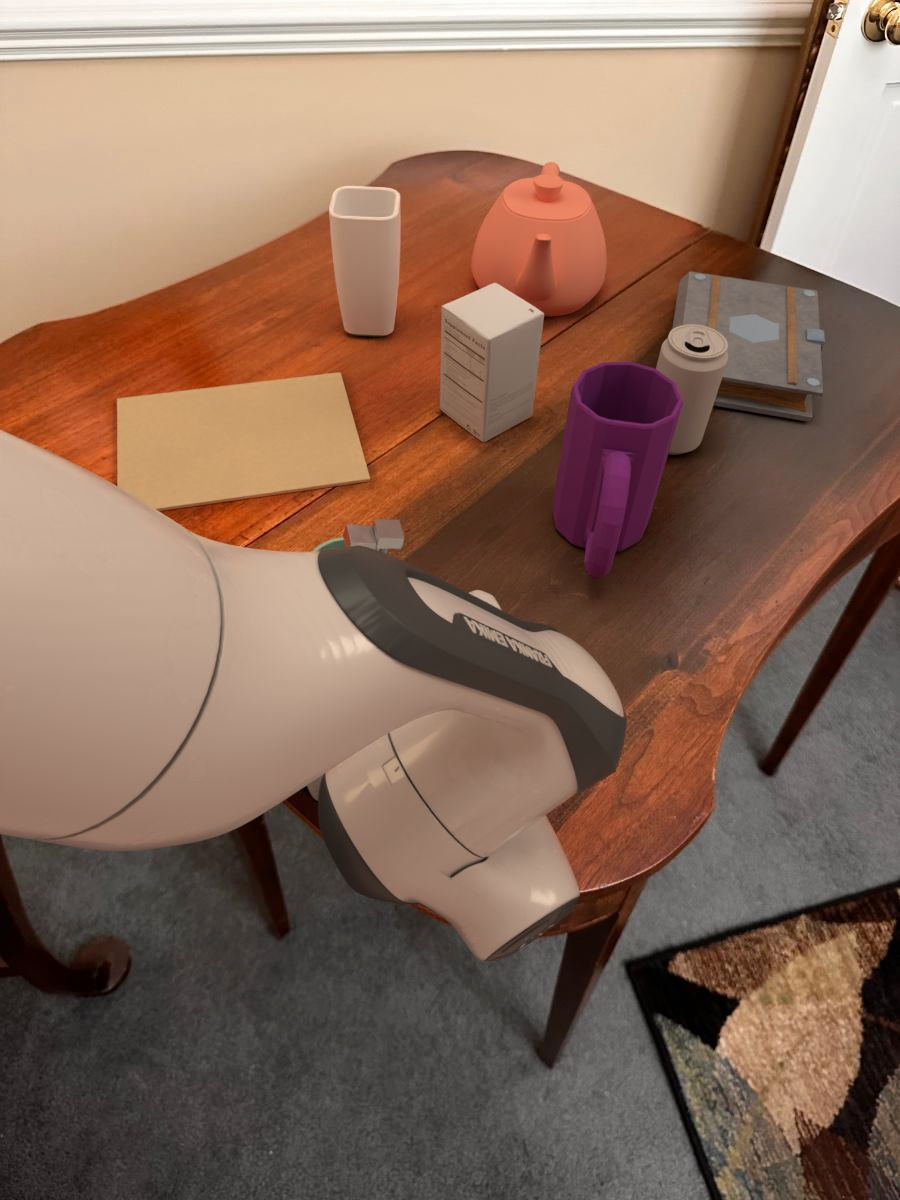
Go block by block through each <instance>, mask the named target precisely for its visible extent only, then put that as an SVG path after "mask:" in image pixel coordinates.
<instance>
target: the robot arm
mask: <svg viewBox="0 0 900 1200" xmlns="http://www.w3.org/2000/svg"><path fill="white" fill-rule="evenodd" d="M627 723H628V717H627V714H626V711H625V710H624V708H623V704H622V701H621V698H620V695H619V693H618V692H617V689H616V688H615V686H614V684H613V682H612V680H611V679H610V677H609V676H608V675H607V673H606V671H605V670H604V668H602V667H601V665H600V664H599V663H598V662H597V660H596V659H595V658H594V657H593V656H592V655H591V654H590V652H588V651H587V650H586V649H585V648H584V647H583V646H582V645H580V644H579V643H578V642H576V641H575V640H573V639H572V638H570V637H569V636H567V635H565V634H563V633H562V632H560V631H559V630H558V629H556V628H555V627H553V626H551V625H548V624H545V623H544V624H543V623H539V622H534V621H526V620H522V619H520V618H517V617H515V616H513V615H512V614H510V613H508V612H506V611H504V610H503V608H502V607H501V605H500V604H499V602H498V600H497V599H496V598H495V596H494V595H493V594H491V593H489V592H486V591H483V590H480V589H475V590H472V591H468V592H467V591H465V590H464V589H462V588H460V587H458V586H456V585H454V584H452V583H450V582H448V581H446V580H444V579H442V578H440V577H438V576H437V575H434V574H432V573H430V572H429V571H426V570H424V569H422V568H419V567H418V566H416V565H413V564H411V563H409V562H407V561H404V560H402V559H400V558H397V557H395V556H393V555H391V554H388V553H387V554H385V553H382V552H380V551H377V550H374V549H371V548H368V547H364V546H348V547H339V548H330V549H324V550H322V551H313V550H311V551H288V550H287V551H286V550H269V549H259V548H250V547H245V546H239V545H234V544H229V543H224V542H221V541H217V540H213V539H210V538H207V537H204V536H202V535H199V534H197V533H194V532H193V531H191V530H189V529H188V528H186V527H184V526H183V525H181V524H180V523H178V522H176V521H175V520H173V518H170V517H169V516H167V515H166V514H164V513H162V511H158V510H156V509H154V508H153V507H151V506H150V505H148V504H146V503H145V502H143V501H142V500H140V499H138V498H137V497H135V496H134V495H132V494H130V493H128V492H126V491H125V490H123V489H121V488H119V487H117V485H115V484H114V483H112V482H111V481H108V480H107V479H105V478H103V477H102V476H99V475H98V474H96V473H95V472H93V471H90V470H88V469H86V468H85V467H82V466H80V465H78V464H76V463H74V462H72V461H70V460H68V459H67V458H64V457H62V456H60V455H58V454H56V453H54V452H52V451H50V450H48V449H45V448H43V447H41V446H40V445H39V446H38V445H36V444H34V443H32V442H29V441H27V440H26V439H23V438H20V437H18V436H16V435H13V434H11V433H9V432H7V431H4V430H2V429H0V835H4V836H9V837H12V838H13V837H14V838H19V839H24V840H31V841H37V842H43V843H48V844H55V845H60V846H64V847H69V848H78V849H83V850H92V851H103V852H132V851H133V852H134V851H144V850H153V849H154V850H155V849H162V848H168V847H175V846H183V845H189V844H194V843H199V842H203V841H206V840H209V839H213V838H217V837H219V836H222V835H225V834H227V833H230V832H232V831H234V830H236V829H238V828H241V827H243V826H244V825H247V824H248V823H249V822H251V821H253V820H255V819H256V818H258V817H260V816H261V815H264V814H265V813H266V812H268V811H270V810H271V809H273V808H274V807H276V806H277V805H279V804H281V803H282V802H284V801H286V800H287V799H289V798H290V797H291V796H293V795H294V794H296V793H297V792H299V791H301V790H302V789H304V788H305V787H306V788H307V790H308V793H309V794H310V796H311V797H312V798H313V799H314V800H315V801H317V821H318V822H317V823H318V827H319V830H320V834H321V837H322V839H323V841H324V844H325V846H326V848H327V850H328V853H329V855H330V856H331V859H332V860H333V862H334V864H335V866H336V868H337V870H338V871H339V873H340V874H341V876H342V877H343V879H344V881H345V882H346V883H347V885H348V886H349V887H350V888H351V890H353V891H354V892H355V893H357V894H359V895H361V896H363V897H366V898H370V899H373V900H377V901H382V902H385V903H391V904H399V905H400V904H402V905H423V906H424V907H426V908H428V909H429V910H431V911H432V912H435V913H436V914H437V915H439V916H440V917H442V918H443V919H444V920H446V921H447V922H448V923H449V924H450V926H451V927H452V928H453V929H454V930H455V932H456V933H457V934H458V936H459V937H460V938H461V940H462V941H463V943H464V944H465V945H466V947H467V948H468V949H469V951H470V952H471V953H472V955H473V956H474V957H475V958H476V959H478V960H479V961H481V962H497V961H501V960H504V959H506V958H508V957H510V956H512V955H514V954H516V953H518V952H519V950H522V949H523V948H524V947H525V946H528V945H530V944H531V943H533V942H534V941H535V940H537V939H538V938H540V937H541V936H542V935H544V934H545V933H547V932H549V930H551V929H552V928H554V927H555V926H557V925H559V923H561V922H562V921H563V920H565V919H566V918H567V917H568V916H569V915H570V914H571V913H572V911H573V910H574V909H575V907H576V904H577V903H578V901H579V898H580V896H581V892H580V888H579V884H578V881H577V879H576V876H575V873H574V871H573V869H572V866H571V864H570V861H569V859H568V856H567V855H566V852H565V851H564V849H563V846H562V844H561V841H560V840H559V838H558V836H557V833H556V832H555V830H554V827H553V826H552V823H551V822H550V820H549V818H548V816H547V815H548V814H550V813H551V812H552V811H554V810H555V809H556V808H558V807H559V806H561V805H562V804H563V803H565V802H566V801H567V800H569V799H570V798H572V797H573V796H578V795H580V794H582V793H583V792H585V791H587V790H588V789H590V788H592V787H593V786H594V785H597V784H598V783H600V782H601V781H604V780H605V779H606V778H608V777H610V776H611V775H613V774H615V773H616V772H617V769H618V766H619V763H620V760H621V756H622V752H623V748H624V744H625V740H626V739H625V738H626V732H627Z"/></svg>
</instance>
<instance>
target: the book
mask: <svg viewBox="0 0 900 1200" xmlns="http://www.w3.org/2000/svg"><path fill="white" fill-rule="evenodd" d="M676 292H677V293H676V299H675V300H676V301H675V305H674V306H675V307H674V312H673V313H674V314H673V321H672V327H671V330H672V329H674V328H675V327H678V326H681V325H687V324H696V325H702V326H706V327H710V328H712V329H714V330H716V331H718V332H719V333H721V334H722V335H723V336H724V337H725V338H726V340H727V342H728V348H727V353H728V361H727V364H726V367H725V370H724V373H723V377H722V380H721V383H720V386H719V389H718V392H717V395H716V398H715V401H714V404H713V407H714V406H715V407H720V408H727V409H731V410H732V409H733V410H738V411H745V412H750V413H755V414H761V415H767V416H773V417H779V418H785V419H791V420H797V421H802V422H809V423H812V421H813V418H814V416H813V415H814V414H813V413H814V411H813V396H816V397H820V398H821V397H823V395H824V384H823V383H824V382H823V365H822V364H823V363H822V362H823V361H822V352H823V349H824V347H825V346H826V345H825V344H826V337H825V335H826V334H825V330H824V329H820V326H821V325H820V311H819V293H818V290H815V289H810V288H804V287H803V288H802V287H795V286H789V285H782V284H776V283H770V282H763V281H756V280H751V279H750V280H749V279H743V278H737V277H730V276H723V275H718V274H712V273H711V274H709V273H703V272H696V271H692V270H691V271H688V272H687V273H686V274H685V275H684V276H683V277H682V278H680V280H679V283H678V286H677V291H676Z"/></svg>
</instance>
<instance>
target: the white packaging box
mask: <svg viewBox="0 0 900 1200" xmlns="http://www.w3.org/2000/svg"><path fill="white" fill-rule="evenodd" d="M440 319H441V320H440V326H441V327H440V328H441V329H440V367H439V368H440V371H439V375H440V376H439V409H440V411H441V412H442V413H443V414H445V415H446V416H447V417H448V418H450V419H451V420H453V421H454V422H455V423H456V424H458V425H459V426H460V427H461V428H463V429H464V430H465V431H467V432H468V433H469V434H470V435H472V436H473V437H475V438H476V439H477V440H479V441H480V442H481V443H483V444H484V443H486V442H488V441H490V440H492V439H493V438H495V437H497V436H499V435H500V434H502V433H504V432H507V431H508V430H510V429H512V428H513V427H516V426H517V425H519V424H521V423H523V422H524V421H526V420H528V419H530V418H532V417H533V413H534V412H533V411H534V404H535V396H536V395H535V394H536V386H537V380H538V379H537V378H538V370H539V362H540V354H541V353H540V352H541V347H542V346H541V345H542V336H543V328H544V319H545V316H544V313H543V312H541V311H540V310H539V309H537V308H536V307H534V306H533V305H531V304H529V303H528V302H526V301H525V300H523V299H521V298H520V297H518V296H516V295H515V294H513V293H512V292H510V291H508V290H507V289H505V288H504V287H502V286H500V285H499V284H497V283H492V284H490V285H488V286H486V287H484V288H481V289H480V288H479V289H476V290H475V291H472V292H470V293H468V294H466V295H463V296H461V297H459V298H457V299H454V300H452V301H450V302H447V303H444V304H442V305H441V317H440Z"/></svg>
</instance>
